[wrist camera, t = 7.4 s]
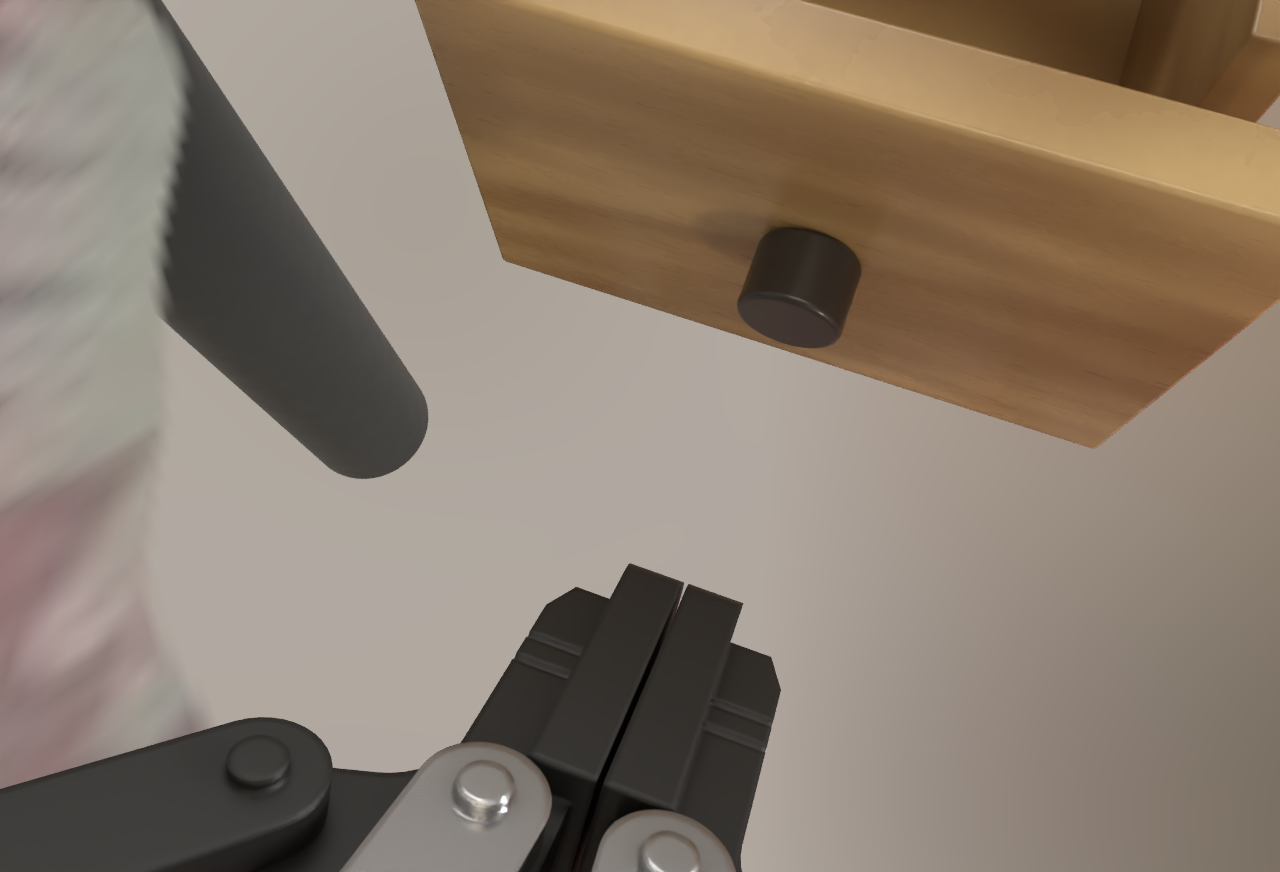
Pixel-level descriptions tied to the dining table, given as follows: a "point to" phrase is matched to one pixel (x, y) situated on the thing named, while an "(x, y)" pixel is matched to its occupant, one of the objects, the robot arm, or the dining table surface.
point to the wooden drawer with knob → (895, 179)
